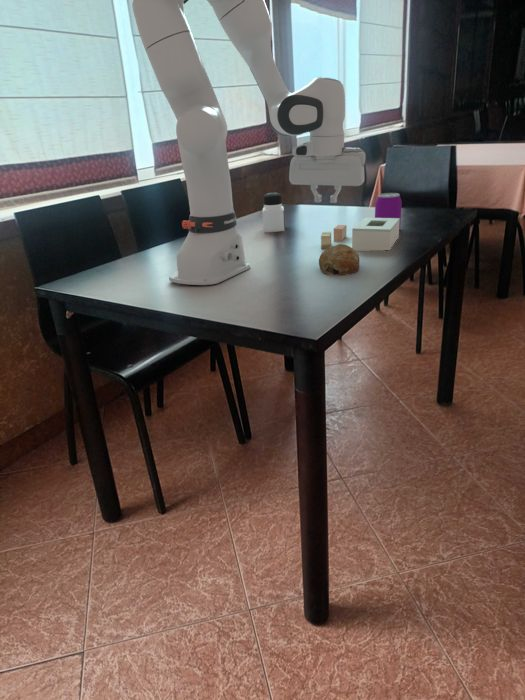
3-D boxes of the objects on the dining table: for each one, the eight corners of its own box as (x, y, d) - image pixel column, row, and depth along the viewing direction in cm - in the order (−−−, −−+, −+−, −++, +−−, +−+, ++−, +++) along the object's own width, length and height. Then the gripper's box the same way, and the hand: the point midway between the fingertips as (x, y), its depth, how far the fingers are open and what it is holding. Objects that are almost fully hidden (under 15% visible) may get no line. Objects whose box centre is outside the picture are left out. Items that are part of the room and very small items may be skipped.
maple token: (330, 251, 139) (330, 235, 137) (321, 251, 139) (321, 235, 137) (331, 247, 143) (331, 231, 141) (322, 247, 144) (322, 231, 142)
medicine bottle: (284, 231, 165) (283, 194, 160) (263, 232, 165) (261, 196, 160) (284, 226, 171) (282, 191, 166) (264, 228, 172) (261, 192, 166)
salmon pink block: (341, 244, 145) (341, 228, 143) (333, 243, 146) (333, 228, 144) (346, 239, 149) (346, 225, 147) (338, 239, 150) (338, 224, 148)
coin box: (389, 255, 131) (390, 229, 128) (352, 254, 135) (352, 228, 131) (398, 242, 142) (399, 218, 139) (364, 241, 146) (364, 217, 143)
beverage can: (399, 231, 154) (401, 191, 149) (400, 237, 147) (403, 196, 142) (373, 232, 155) (375, 193, 150) (374, 238, 149) (375, 197, 143)
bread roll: (317, 286, 121) (312, 264, 115) (325, 256, 127) (321, 233, 120) (357, 289, 118) (354, 265, 112) (364, 257, 123) (361, 234, 117)
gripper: (369, 146, 128) (366, 201, 134) (295, 147, 135) (295, 199, 141) (363, 148, 122) (360, 205, 128) (286, 148, 130) (287, 202, 136)
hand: (325, 202), depth 135 cm, fingers open, 3 cm apart
